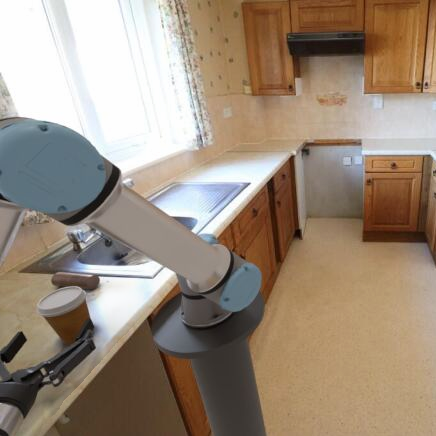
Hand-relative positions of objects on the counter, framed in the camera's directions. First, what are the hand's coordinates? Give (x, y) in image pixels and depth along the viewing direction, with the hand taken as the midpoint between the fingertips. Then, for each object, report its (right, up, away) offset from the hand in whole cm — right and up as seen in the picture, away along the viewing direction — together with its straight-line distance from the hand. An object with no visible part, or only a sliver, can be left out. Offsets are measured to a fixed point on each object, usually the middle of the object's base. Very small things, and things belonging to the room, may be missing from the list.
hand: (57, 329), depth 74 cm
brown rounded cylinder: (-16, +4, +27) cm, 32 cm away
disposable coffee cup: (-1, -4, +8) cm, 9 cm away
